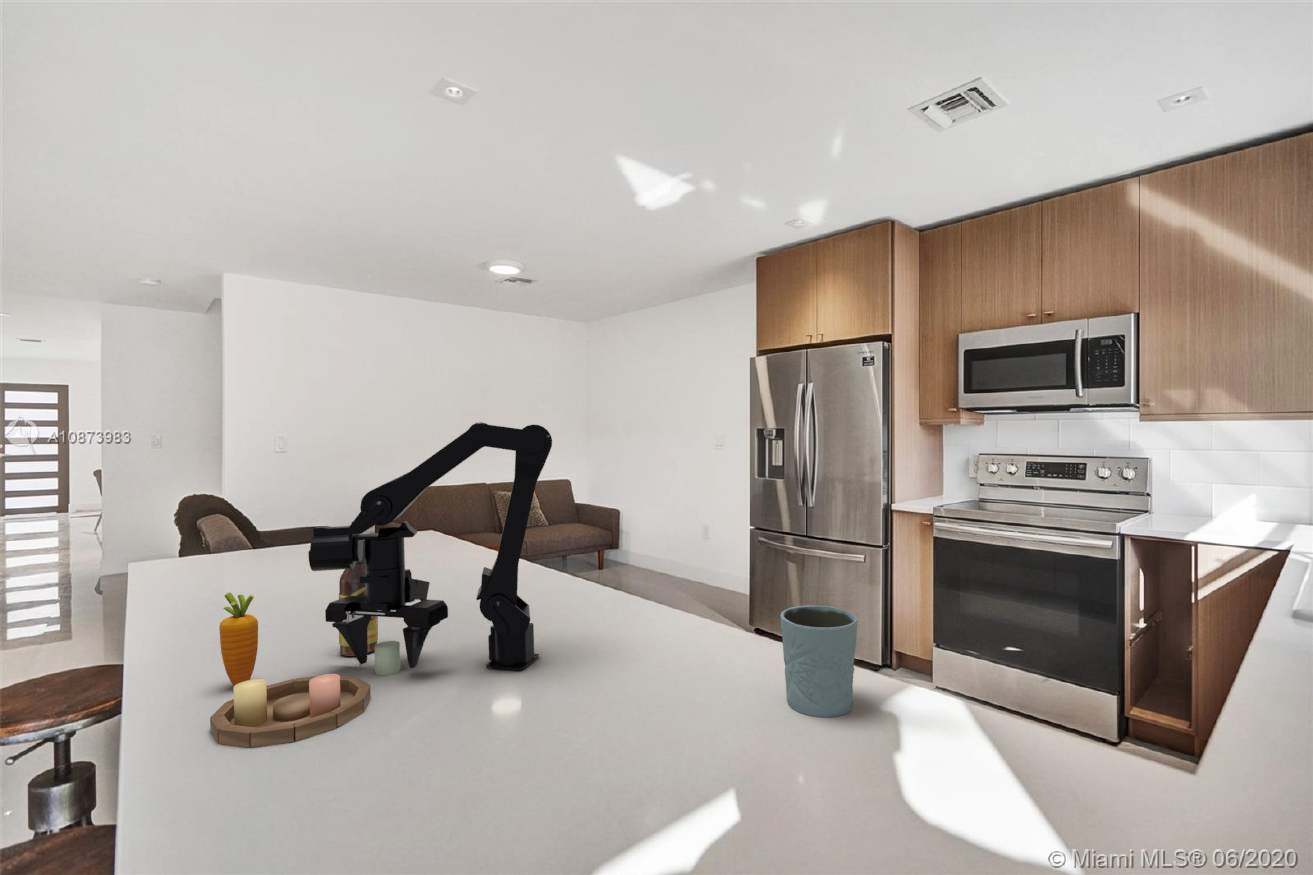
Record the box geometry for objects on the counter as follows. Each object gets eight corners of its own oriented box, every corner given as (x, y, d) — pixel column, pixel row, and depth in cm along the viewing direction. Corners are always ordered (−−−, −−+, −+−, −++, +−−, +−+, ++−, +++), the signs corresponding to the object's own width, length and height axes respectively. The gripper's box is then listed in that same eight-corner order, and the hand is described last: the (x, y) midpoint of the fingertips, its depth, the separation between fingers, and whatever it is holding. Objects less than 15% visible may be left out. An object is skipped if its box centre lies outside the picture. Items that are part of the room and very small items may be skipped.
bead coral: (347, 712, 85) (346, 674, 85) (326, 724, 81) (325, 685, 81) (324, 709, 86) (323, 672, 86) (303, 721, 82) (302, 683, 82)
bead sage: (405, 672, 101) (404, 641, 101) (390, 681, 98) (389, 649, 98) (386, 671, 102) (385, 640, 102) (370, 679, 99) (369, 647, 99)
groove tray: (396, 697, 91) (396, 680, 91) (294, 760, 74) (294, 739, 74) (295, 687, 96) (294, 671, 96) (177, 744, 79) (176, 724, 79)
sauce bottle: (363, 658, 108) (359, 542, 108) (331, 657, 109) (327, 542, 109) (386, 646, 115) (383, 536, 115) (356, 644, 116) (353, 536, 116)
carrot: (267, 688, 96) (264, 589, 96) (234, 701, 92) (231, 597, 92) (246, 683, 98) (244, 587, 98) (213, 695, 94) (210, 594, 94)
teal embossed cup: (808, 683, 92) (806, 601, 92) (874, 703, 85) (871, 613, 85) (767, 705, 85) (765, 616, 85) (835, 728, 78) (832, 631, 78)
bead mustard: (274, 717, 84) (272, 680, 84) (249, 730, 80) (248, 690, 80) (252, 715, 85) (251, 678, 85) (227, 727, 81) (226, 688, 81)
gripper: (466, 558, 105) (468, 652, 105) (370, 555, 110) (373, 645, 110) (424, 572, 94) (427, 677, 94) (321, 568, 99) (324, 668, 99)
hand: (388, 665), depth 100 cm, fingers open, 9 cm apart
